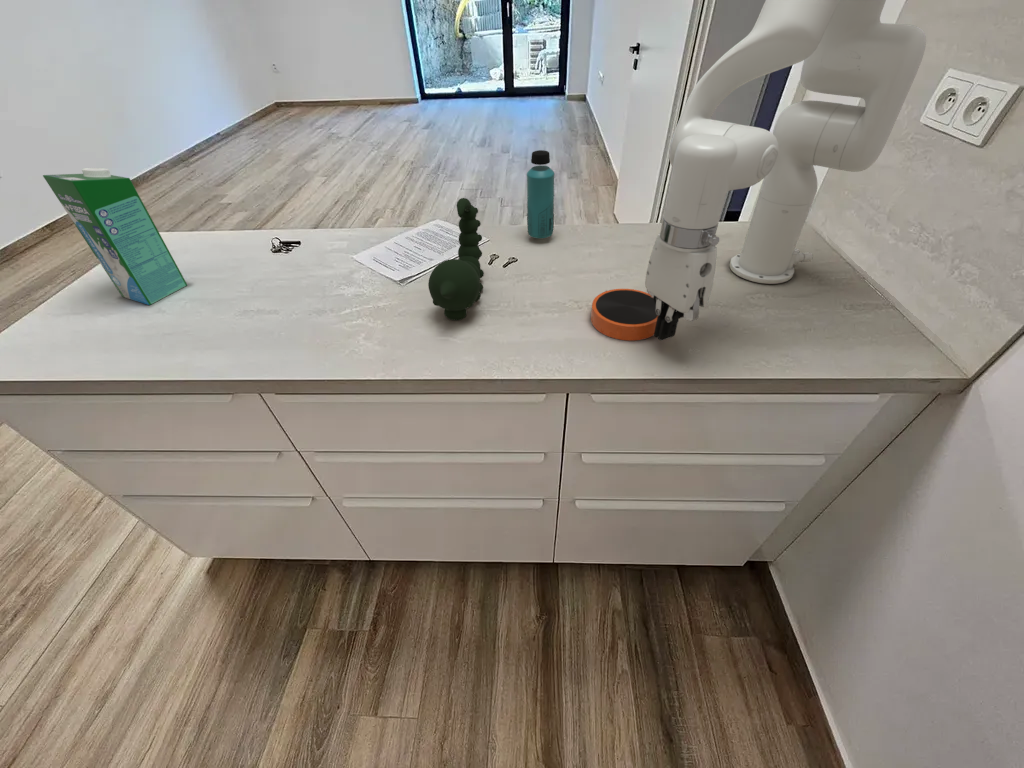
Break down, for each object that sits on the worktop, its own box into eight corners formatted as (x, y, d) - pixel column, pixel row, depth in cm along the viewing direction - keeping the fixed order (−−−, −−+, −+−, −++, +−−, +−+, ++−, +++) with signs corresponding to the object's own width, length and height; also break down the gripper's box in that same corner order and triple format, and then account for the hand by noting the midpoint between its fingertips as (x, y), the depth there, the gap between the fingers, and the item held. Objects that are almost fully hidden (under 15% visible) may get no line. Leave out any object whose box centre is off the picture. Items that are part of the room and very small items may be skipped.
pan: (618, 348, 82) (620, 334, 80) (577, 313, 91) (578, 299, 89) (705, 316, 89) (709, 302, 87) (659, 286, 98) (661, 273, 96)
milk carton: (188, 285, 104) (123, 164, 87) (149, 305, 98) (71, 180, 81) (161, 277, 107) (93, 160, 90) (121, 297, 101) (41, 174, 84)
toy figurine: (453, 279, 106) (422, 335, 86) (445, 190, 95) (407, 231, 75) (495, 281, 105) (473, 338, 85) (491, 191, 93) (465, 233, 73)
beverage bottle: (551, 245, 114) (554, 156, 100) (524, 243, 115) (523, 155, 101) (555, 234, 118) (558, 147, 105) (529, 232, 119) (528, 147, 106)
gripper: (747, 245, 64) (713, 352, 76) (671, 209, 74) (652, 309, 86) (706, 258, 62) (677, 367, 74) (633, 219, 72) (618, 320, 84)
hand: (664, 335), depth 80 cm, fingers closed
